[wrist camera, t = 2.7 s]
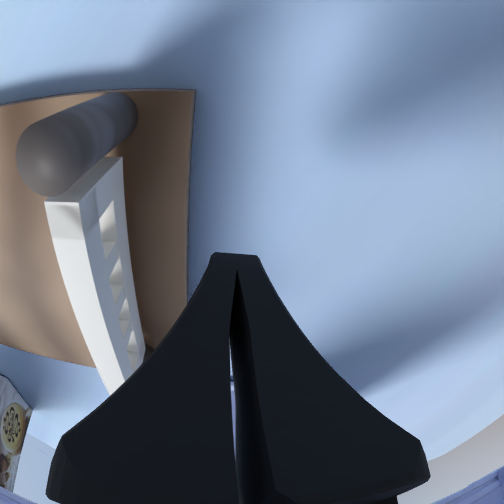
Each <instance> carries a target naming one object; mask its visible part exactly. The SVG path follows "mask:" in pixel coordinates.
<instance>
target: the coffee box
mask: <svg viewBox="0 0 504 504" xmlns="http://www.w3.org/2000/svg"><path fill="white" fill-rule="evenodd" d="M31 414H32V409H31V408H30V407H29V406H28V404H27V403H26V402H25V401H24V400H23V398H22V397H21V396H20V394H19V393H18V392H17V391H16V389H15V388H14V387H13V385H12V384H11V383H10V381H9V380H8V379H7V378H6V377H3V376H1V375H0V486H1V487H3V488H5V489H7V490H9V491H11V492H13V489H14V483H15V478H16V473H17V468H18V463H19V459H20V455H21V450H22V446H23V443H24V438H25V435H26V431H27V428H28V424H29V421H30V418H31Z"/></svg>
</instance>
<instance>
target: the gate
mask: <svg viewBox="0 0 504 504" xmlns="http://www.w3.org/2000/svg"><path fill="white" fill-rule="evenodd" d="M44 204H45V209H46V214H47V219H48V224H49V228H50V232H51V237H52V241H53V245H54V249H55V253H56V256H57V260H58V263H59V267H60V270H61V274H62V277H63V280H64V284H65V287H66V290H67V293H68V296H69V299H70V302H71V305H72V308H73V311H74V313H75V316H76V319H77V322H78V324H79V327H80V329H81V332H82V335H83V337H84V340H85V342H86V344H87V347H88V349H89V352H90V354H91V356H92V359H93V361H94V363H95V365H96V367H97V370H98V372H99V374H100V376H101V378H102V380H103V382H104V385H105V387H106V389H107V391H108V393H109V395H111V394H112V393H114V392H115V391H116V390H117V389H118V388H119V387H120V386H121V385H122V384H123V383H124V382H125V381H126V380H127V379H128V378H129V377H130V376H131V375H132V374H133V373H134V372H135V371H136V370H137V369H138V368H139V367H140V365H141V364H142V363H143V358H144V354H145V349H146V348H145V343H144V338H143V333H142V328H141V323H140V317H139V312H138V306H137V300H136V294H135V287H134V281H133V274H132V267H131V259H130V251H129V242H128V232H127V222H126V210H125V197H124V180H123V157H103V158H102V159H101V160H100V161H98V162H97V163H96V164H95V165H94V166H93V167H92V168H91V169H89V170H88V171H87V172H86V173H85V174H84V175H83V176H82V177H81V178H80V179H79V180H77V181H76V182H75V183H74V184H73V185H72V186H71V187H70V188H69V189H68V190H67V191H66V192H65V193H63V194H61V195H59V196H55V197H48V198H47V199H46V200H45V201H44Z"/></svg>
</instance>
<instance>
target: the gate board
mask: <svg viewBox="0 0 504 504" xmlns="http://www.w3.org/2000/svg"><path fill="white" fill-rule="evenodd" d="M195 95H196V90H193V89H119V90H102V91H89V92H78V93H69V94H61V95H53V96H46V97H40V98H34V99H28V100H22V101H17V102H12V103H7V104H3V105H0V344H3V345H6V346H9V347H13V348H16V349H19V350H23V351H26V352H30V353H34V354H37V355H41V356H45V357H49V358H53V359H57V360H61V361H66V362H70V363H75V364H80V365H84V366H89V367H94V368H97V367H96V365H95V363H94V361H93V359H92V356H91V354H90V352H89V349H88V347H87V344H86V342H85V340H84V337H83V335H82V332H81V329H80V327H79V324H78V322H77V319H76V316H75V313H74V311H73V308H72V305H71V302H70V299H69V296H68V293H67V290H66V287H65V284H64V280H63V277H62V274H61V270H60V267H59V263H58V260H57V256H56V253H55V249H54V245H53V241H52V237H51V232H50V228H49V224H48V219H47V214H46V209H45V204H44V201H45V200H46V199H47V198H48V197H55V196H59V195H61V194H63V193H65V192H66V191H67V190H68V189H69V188H70V187H71V186H72V185H73V184H74V183H75V182H76V181H77V180H79V179H80V178H81V177H82V176H83V175H84V174H85V173H86V172H87V171H88V170H89V169H91V168H92V167H93V166H94V165H95V164H96V163H97V162H98V161H100V160H101V159H102V158H103V157H123V180H124V197H125V210H126V222H127V232H128V242H129V251H130V259H131V267H132V274H133V281H134V287H135V294H136V300H137V306H138V312H139V317H140V323H141V328H142V333H143V338H144V343H145V348H146V349H145V354H144V358H143V362H144V361H145V360H146V359H147V357H148V356H149V355H150V354H151V353H152V352H153V351H154V349H155V348H156V347H157V346H158V344H159V343H160V342H161V341H162V339H163V338H164V337H165V336H166V334H167V333H168V332H169V330H170V329H171V328H172V326H173V325H174V323H175V322H176V321H177V319H178V318H179V316H180V314H181V313H182V311H183V310H184V308H185V307H186V305H187V304H188V213H189V185H190V165H191V148H192V133H193V119H194V107H195Z"/></svg>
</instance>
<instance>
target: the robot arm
mask: <svg viewBox="0 0 504 504" xmlns="http://www.w3.org/2000/svg"><path fill="white" fill-rule="evenodd" d="M229 337H230V340H229ZM230 349H231V361H232V371H233V382H232V381H231V379H230ZM429 478H430V472H429V468H428V464H427V460H426V456H425V453H424V450H423V447H422V445H421V442H420V440H419V439H417V438H416V437H414V436H413V435H411V434H410V433H408V432H407V431H405V430H404V429H403V428H401V427H400V426H398V425H397V424H395V423H394V422H392V421H391V420H390V419H388V418H387V417H386V416H384V415H383V414H382V413H380V412H379V411H378V410H377V409H376V408H374V407H373V406H372V405H371V404H369V403H368V402H367V401H366V400H365V399H364V398H363V397H362V396H360V395H359V394H358V393H357V392H356V391H355V390H354V389H353V388H352V387H351V386H350V385H349V384H348V383H347V382H346V381H345V380H344V379H343V378H342V377H340V376H339V375H338V374H337V372H336V371H335V370H334V369H333V368H332V367H331V366H330V365H329V364H328V363H327V362H326V360H325V359H324V358H323V357H322V356H321V355H320V353H319V352H318V351H317V350H316V349H315V348H314V346H313V345H312V344H311V343H310V341H309V340H308V339H307V337H306V336H305V335H304V333H303V332H302V331H301V329H300V328H299V326H298V325H297V324H296V322H295V321H294V319H293V318H292V316H291V315H290V313H289V312H288V310H287V309H286V307H285V305H284V304H283V302H282V301H281V299H280V297H279V296H278V294H277V292H276V291H275V289H274V287H273V285H272V283H271V281H270V280H269V278H268V276H267V274H266V272H265V270H264V268H263V266H262V263H261V261H260V259H259V258H258V256H257V255H245V254H232V253H219V252H215V253H213V254H212V255H211V258H210V261H209V264H208V266H207V269H206V271H205V273H204V275H203V277H202V279H201V281H200V283H199V285H198V287H197V289H196V290H195V292H194V294H193V296H192V297H191V299H190V301H189V302H188V304H187V305H186V307H185V308H184V310H183V311H182V313H181V314H180V316H179V318H178V319H177V321H176V322H175V323H174V325H173V326H172V328H171V329H170V330H169V332H168V333H167V334H166V336H165V337H164V338H163V339H162V341H161V342H160V343H159V344H158V346H157V347H156V348H155V349H154V351H153V352H152V353H151V354H150V355H149V356H148V357H147V359H146V360H145V361H144V362H143V363H142V364H141V365H140V367H139V368H138V369H137V370H136V371H135V372H134V373H133V374H132V375H131V376H130V377H129V378H128V379H127V380H126V381H125V382H124V383H123V384H122V385H121V386H120V387H119V388H118V389H117V390H116V391H115V392H114V393H112V394H111V395H110V396H109V397H108V398H107V399H106V400H105V401H104V402H103V403H102V404H101V405H100V406H98V407H97V408H96V409H95V410H94V411H92V412H91V413H90V414H89V415H87V416H86V417H85V418H84V419H82V420H81V421H80V422H79V423H77V424H76V425H75V426H74V427H72V428H71V429H70V430H69V431H67V432H66V433H65V434H64V435H63V436H62V437H61V439H60V441H59V443H58V446H57V448H56V451H55V454H54V457H53V459H52V462H51V466H50V471H49V477H48V482H47V488H46V495H47V497H48V498H49V499H50V500H53V501H55V502H58V503H60V504H398V501H397V495H399V494H402V493H404V492H407V491H409V490H411V489H413V488H415V487H418V486H420V485H422V484H423V483H425V482H427V481H428V480H429ZM0 504H36V503H34V502H32V501H30V500H27V499H25V498H23V497H20V496H19V495H17V494H15V493H13V492H11V491H9V490H7V489H5V488H3V487H1V486H0ZM432 504H504V466H503V467H501V468H500V469H497V470H495V471H493V472H492V473H490V474H488V475H486V476H485V477H483V478H481V479H479V480H477V481H475V482H474V483H472V484H470V485H469V486H468V487H466V488H464V489H462V490H460V491H458V492H456V493H454V494H452V495H450V496H447V497H445V498H443V499H441V500H439V501H436V502H434V503H432Z"/></svg>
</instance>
